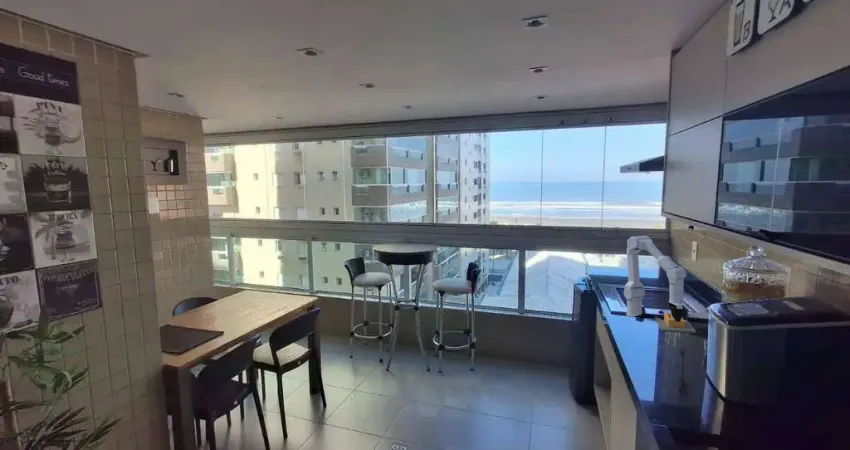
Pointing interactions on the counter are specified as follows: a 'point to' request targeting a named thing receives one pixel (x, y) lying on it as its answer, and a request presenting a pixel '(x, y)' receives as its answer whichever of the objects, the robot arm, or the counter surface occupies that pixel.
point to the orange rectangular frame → (673, 321)
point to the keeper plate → (665, 327)
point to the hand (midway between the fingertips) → (676, 319)
